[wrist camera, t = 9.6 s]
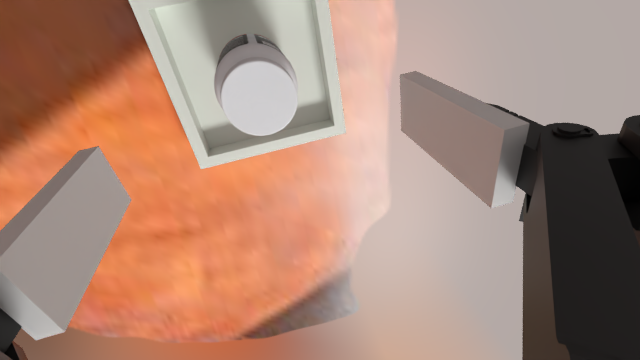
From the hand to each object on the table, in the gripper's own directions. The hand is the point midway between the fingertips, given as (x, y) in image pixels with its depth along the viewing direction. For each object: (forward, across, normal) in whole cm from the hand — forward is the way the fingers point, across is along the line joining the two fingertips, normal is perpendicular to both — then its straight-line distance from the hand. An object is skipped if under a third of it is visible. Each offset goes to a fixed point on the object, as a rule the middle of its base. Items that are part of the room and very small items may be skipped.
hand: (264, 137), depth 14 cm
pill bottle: (+16, 0, 0) cm, 16 cm away
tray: (+17, 0, -1) cm, 17 cm away
